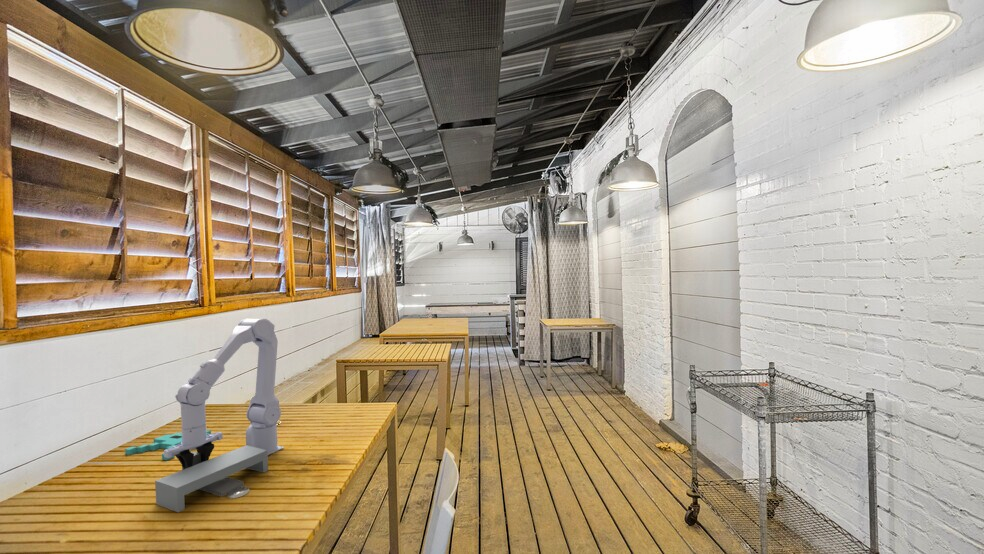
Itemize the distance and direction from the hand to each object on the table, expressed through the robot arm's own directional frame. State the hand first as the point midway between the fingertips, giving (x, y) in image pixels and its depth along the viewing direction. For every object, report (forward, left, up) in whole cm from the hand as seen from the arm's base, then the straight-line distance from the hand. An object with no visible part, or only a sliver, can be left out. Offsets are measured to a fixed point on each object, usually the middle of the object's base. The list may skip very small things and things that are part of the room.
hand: (195, 473), depth 121 cm
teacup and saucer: (-24, +36, -3) cm, 43 cm away
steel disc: (+20, 0, -2) cm, 20 cm away
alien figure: (-35, +13, -3) cm, 38 cm away
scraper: (+7, 0, -2) cm, 7 cm away
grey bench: (+10, 0, -2) cm, 10 cm away
